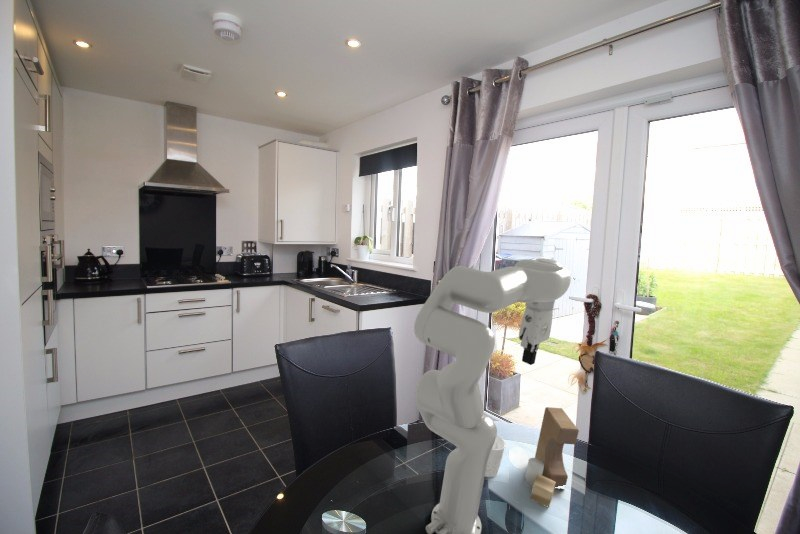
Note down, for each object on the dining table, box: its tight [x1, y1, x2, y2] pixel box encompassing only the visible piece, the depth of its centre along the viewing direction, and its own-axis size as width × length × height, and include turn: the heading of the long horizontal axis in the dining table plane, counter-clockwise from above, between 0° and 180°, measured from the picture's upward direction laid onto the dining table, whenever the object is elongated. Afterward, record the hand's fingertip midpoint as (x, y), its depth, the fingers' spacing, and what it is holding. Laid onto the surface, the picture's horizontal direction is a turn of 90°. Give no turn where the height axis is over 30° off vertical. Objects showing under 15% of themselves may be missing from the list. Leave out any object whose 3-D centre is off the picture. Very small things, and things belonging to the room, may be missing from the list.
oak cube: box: [530, 474, 556, 508], centre depth 110 cm, size 5×5×5 cm
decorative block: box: [534, 406, 580, 487], centre depth 117 cm, size 11×6×20 cm, turn 2°
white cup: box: [484, 434, 506, 478], centre depth 118 cm, size 8×8×10 cm
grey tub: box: [524, 457, 544, 486], centre depth 116 cm, size 4×4×6 cm
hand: (528, 362), depth 114 cm, fingers closed
